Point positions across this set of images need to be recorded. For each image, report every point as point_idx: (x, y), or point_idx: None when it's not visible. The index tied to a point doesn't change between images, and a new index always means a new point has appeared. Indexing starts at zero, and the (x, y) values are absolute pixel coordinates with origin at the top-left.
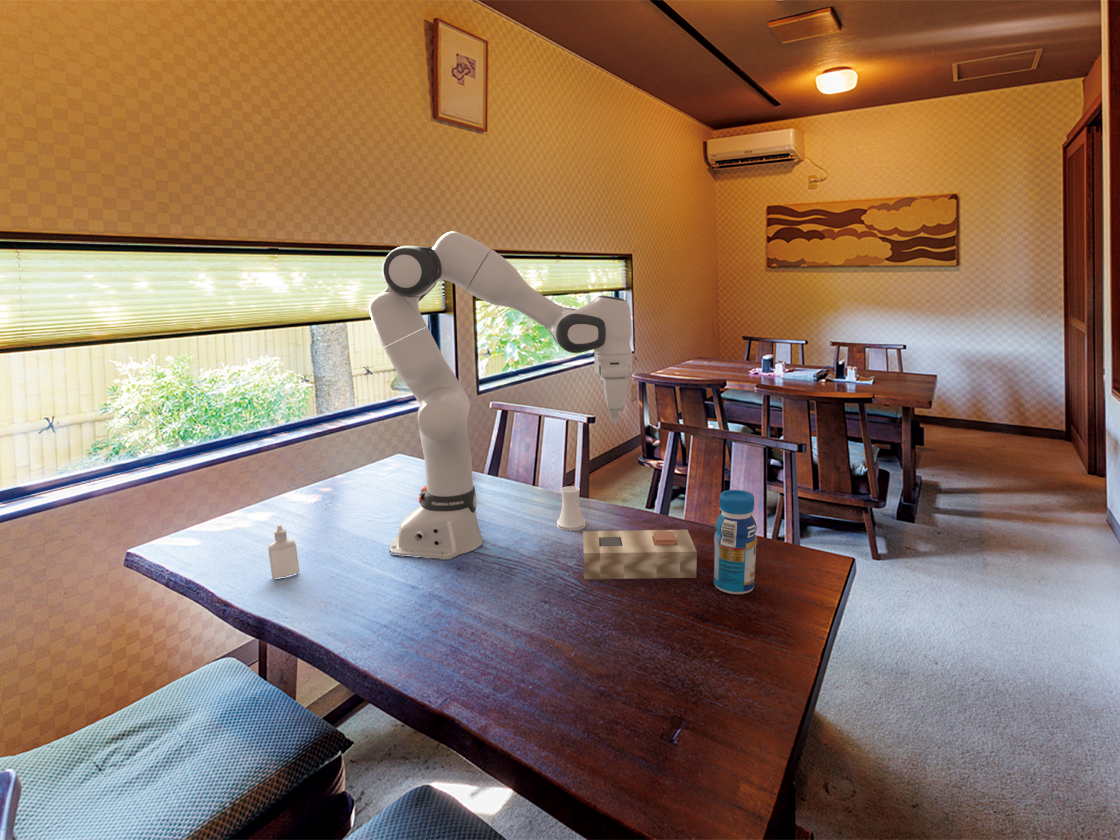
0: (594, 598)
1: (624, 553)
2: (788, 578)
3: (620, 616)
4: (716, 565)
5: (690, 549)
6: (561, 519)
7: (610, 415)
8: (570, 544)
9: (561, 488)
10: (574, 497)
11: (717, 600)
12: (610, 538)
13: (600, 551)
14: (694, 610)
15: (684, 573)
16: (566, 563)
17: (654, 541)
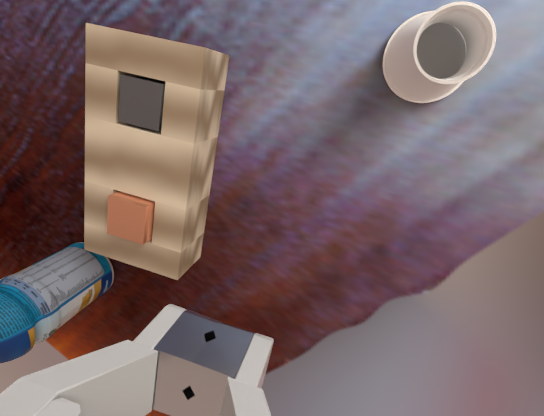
0: (61, 39)
1: (86, 117)
2: (107, 340)
3: (13, 70)
4: (57, 257)
5: (92, 243)
6: (419, 21)
7: (117, 344)
8: (296, 33)
9: (480, 6)
10: (413, 58)
11: (55, 226)
12: (155, 108)
13: (92, 65)
14: (31, 184)
15: None
16: (198, 5)
17: (138, 198)
